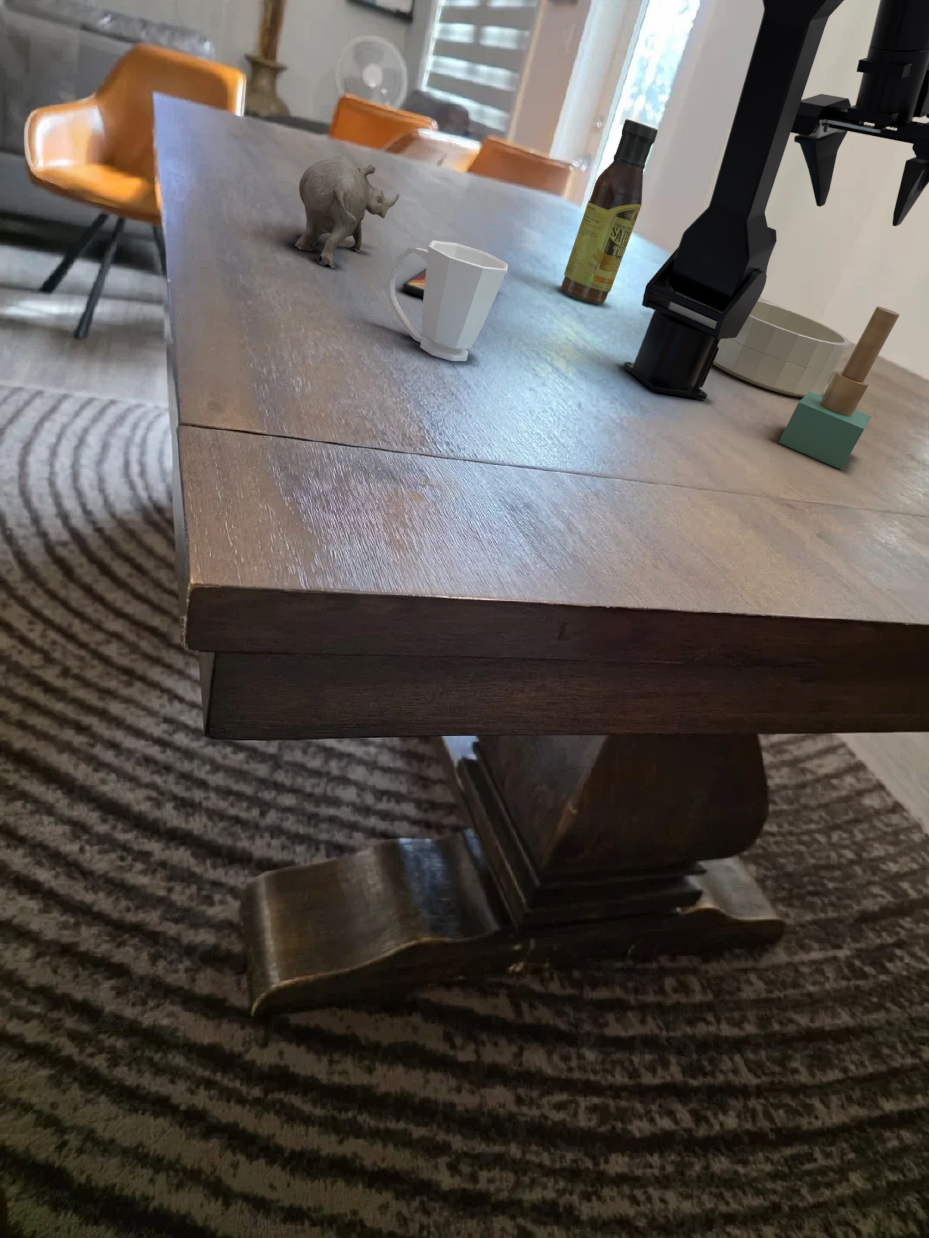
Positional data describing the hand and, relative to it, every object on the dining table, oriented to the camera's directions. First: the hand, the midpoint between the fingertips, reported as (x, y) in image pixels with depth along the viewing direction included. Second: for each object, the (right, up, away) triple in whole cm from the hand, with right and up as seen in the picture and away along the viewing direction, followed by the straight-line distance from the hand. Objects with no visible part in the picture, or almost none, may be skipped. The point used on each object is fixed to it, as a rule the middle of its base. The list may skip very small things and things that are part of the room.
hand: (857, 215), depth 94 cm
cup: (-46, -21, -20) cm, 54 cm away
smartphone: (-45, -9, -2) cm, 45 cm away
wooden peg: (-9, -25, -16) cm, 31 cm away
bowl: (-9, -16, +6) cm, 19 cm away
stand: (-10, -28, -14) cm, 33 cm away
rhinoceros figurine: (-57, -4, 0) cm, 57 cm away
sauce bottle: (-28, -4, +15) cm, 32 cm away
